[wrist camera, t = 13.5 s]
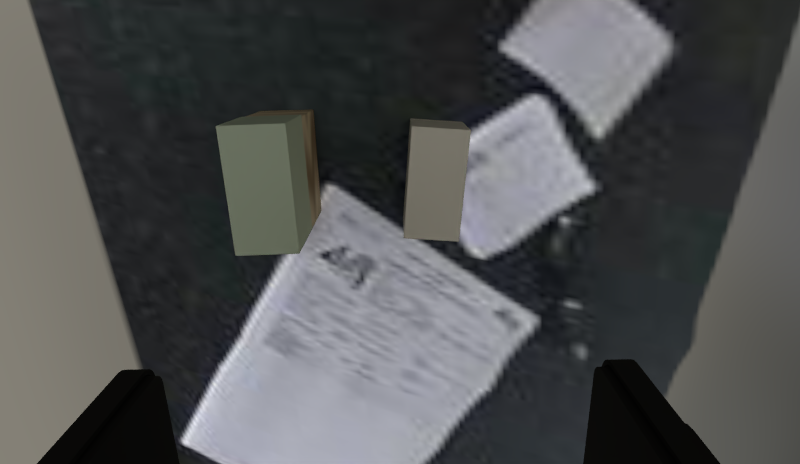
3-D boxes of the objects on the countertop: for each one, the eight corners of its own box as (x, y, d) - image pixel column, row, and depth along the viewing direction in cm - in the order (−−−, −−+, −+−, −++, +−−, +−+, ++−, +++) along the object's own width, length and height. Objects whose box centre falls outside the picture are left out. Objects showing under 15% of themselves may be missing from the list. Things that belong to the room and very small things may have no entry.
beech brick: (261, 110, 38) (241, 117, 34) (313, 109, 38) (301, 116, 34) (272, 211, 41) (255, 231, 36) (321, 210, 41) (311, 229, 36)
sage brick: (241, 116, 34) (215, 126, 29) (301, 114, 34) (285, 123, 29) (256, 230, 36) (235, 255, 32) (312, 228, 36) (299, 253, 32)
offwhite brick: (410, 118, 39) (411, 126, 34) (462, 121, 39) (470, 130, 34) (403, 217, 41) (403, 238, 37) (451, 220, 41) (458, 241, 37)
